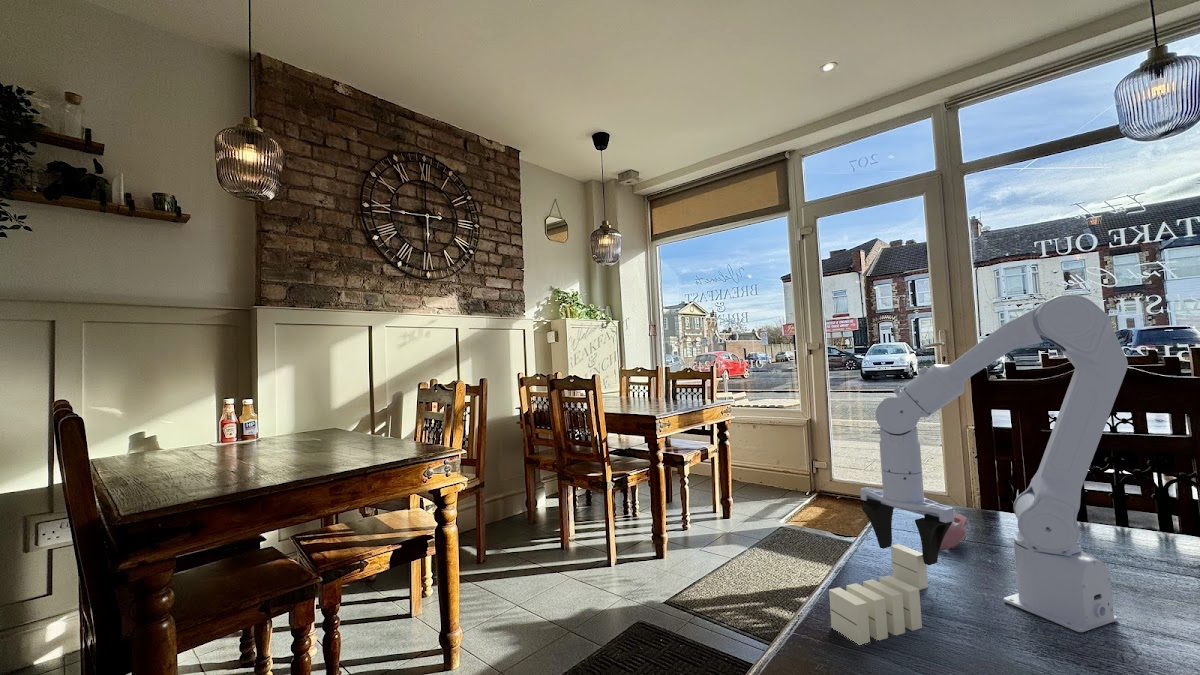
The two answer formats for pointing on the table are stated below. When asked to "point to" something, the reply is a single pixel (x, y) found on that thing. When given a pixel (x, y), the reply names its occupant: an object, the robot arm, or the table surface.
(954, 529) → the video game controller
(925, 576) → the domino
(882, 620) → the domino
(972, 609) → the table surface
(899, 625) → the domino
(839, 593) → the domino
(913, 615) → the domino
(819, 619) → the table surface
